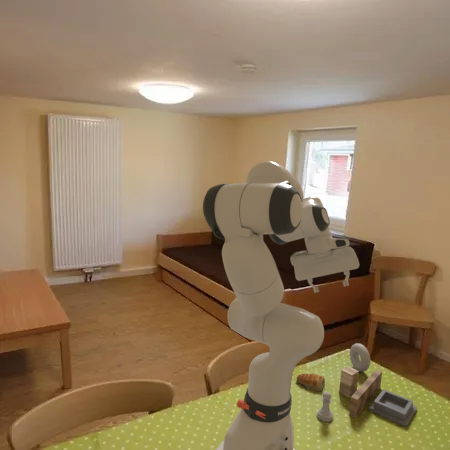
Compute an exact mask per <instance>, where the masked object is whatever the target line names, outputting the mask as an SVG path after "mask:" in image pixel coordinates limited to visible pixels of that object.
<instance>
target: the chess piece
mask: <svg viewBox="0 0 450 450" xmlns="http://www.w3.org/2000/svg"><path fill="white" fill-rule="evenodd" d="M331 399H332V394H331V392H329V391H324V392H322V398H321V401H322V406H321V407H320V408H319V409H318V410H317V413H316V416H317V418H318V419H319V420H320V421H322V422H326V423H327V422H331V421H333V419H334V414H333V412H332V411H331V409H330V404H331V403H332V400H331Z"/></svg>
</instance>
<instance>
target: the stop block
mask: <svg viewBox="0 0 450 450" xmlns="http://www.w3.org/2000/svg"><path fill="white" fill-rule="evenodd" d="M359 372H360V371H358V370H356V369H355V368H354V367H351V366H349V365H347V366H345V367H344V368H342V369H340V378H339V379H340V380H339V391H338V392H339V393H340V394H342V395H344V396H346V397H347V398H350V399H351V396H352V395H353V394H354V393H355V392H356V391H357V390H358V384H359Z"/></svg>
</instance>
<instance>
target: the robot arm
mask: <svg viewBox="0 0 450 450" xmlns="http://www.w3.org/2000/svg"><path fill="white" fill-rule="evenodd" d="M202 213H203V217H204V220H205V221H206V223H207V225H208V227H209V228H210V229H211V230H212V232H213V235H214V236H215V237H216V238H218V239H220V240H224V244H223V246H222V248H221V258H222V263H223V268H224V271H225V274H226V277H227V279H228V281H229V285H230V286H231V288H232V291H233V292H234V295H235V298H234V299H233V301H231V303H230V305H229V306H228V308H227V323H228V326H229V328H230V329H231V330H233V331H234V332H236V333H238V334H239V335H240V336H242V337H244V338H246V339H248V340H252V341H255V342H258V343H261V344H264V345H266V346H268V347H269V352H263V353H260V354H258V355H256V356H255V357H254V358H253V359H252V360H251V362H250V364H249V368H248V383H247V384H248V385H247V389H246V391H245V394H244V398H243V399H241V398H239V399H238V400H237V403H236V407H237V408H239V409H240V410H239V412H238V413H237V414H236V416H235V418H234V419H233V421H232V423H231V424H230V426H229V427H228V429H227V431H226V433H225V435H224V439H223V440H222V442H220V444H218V446H217V448H215V450H296V449H295V443H294V442H295V431H294V428H295V426H294V423H293V420H292V417H291V416H292V415H291V414H290V413H291V410H292V404H293V403H292V402H293V401H292V398H293V397H292V393H291V389H292V387H291V386H292V381H293V374H294V371H295V368H296V367H297V365H298V363H299V362H301V360H303V359H304V358H306V357H309V356H311V355H313V354H315V353H316V352H317V351H318V350H319V349H320V348H321V346H322V344H323V342H324V338H325V328H324V325H323V321H322V320H321V318H320V316H318V315H316V314H315V313H312V312H310V311H308V310H306V309H304V308H302V307H298V306H293V305H290V304H287V303H282V301H283V298H284V294H285V287H284V283H283V281H282V278H281V275H280V271H279V269H278V266H277V263H276V261H275V259H274V257H273V255H272V253H271V251H270V249H269V248H268V247H269V246H268V245H267V244H266V243H265V241H264V235H269V238H270V240H271V241H272V242H274V243H275V244H278V245H281V246H282V245H285V244H287V243H290V242H292V241H293V242H294V241H297V240H301V239H304V243H305V248H306V249H305V250H301V251H296V252H294V253H293V254H291V256H290V259H289V260H290V263H291V265H292V266H293V268H294V275H295V276H294V277H295V280H297V281H298V282H300V281H305V280H307V283H308V284H309V285H310V286H311V288H312V289H313V292H314V294H315V293H319V292H320V290H319V286H318V285H317V286H315V285H314V284H313V282H314V281H313V279H314V278H318V277H325V276H328V275H333V274H337V273H342V272H343V275H345V278H344V280H342V285H343V287H348V286H349V287H350V284H349V278H350V274H351V273H350V271H352V270H356V269H359V267H360V261H359V258H358V256H357V253H356V252H355V249H354V248H352V247H351V246H350V241H349V239H346V238H334V237H333V234H332V231H331V230H330V227H329V226H330V222H331V221H330V218H329V214H328V210H327V209H326V208H325V207H324V205H323V203H322V201H321V199H320V197H317V196H310V197H309V196H308V197H305V198H304V190H303V188H302V185H301V183H300V182H299V180H298V179H297V178H296V177H295V176H294V175H293V174H292V172H290V171H289V170H288V169H287V168H285V167H284V166H282V165H281V164H278V163H276V162H274V161H271V160H270V161H269V160H268V161H260V162H258V163H257V164H255V165H254V166H253V167H251V169H250V170H249V172H248V173H247V176H246V182H235V183H229V184H228V183H220V184H217V185H214V186H212V187H210V188H209V189H208V190H207V191H206V193H205V195H204V198H203V201H202Z"/></svg>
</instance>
